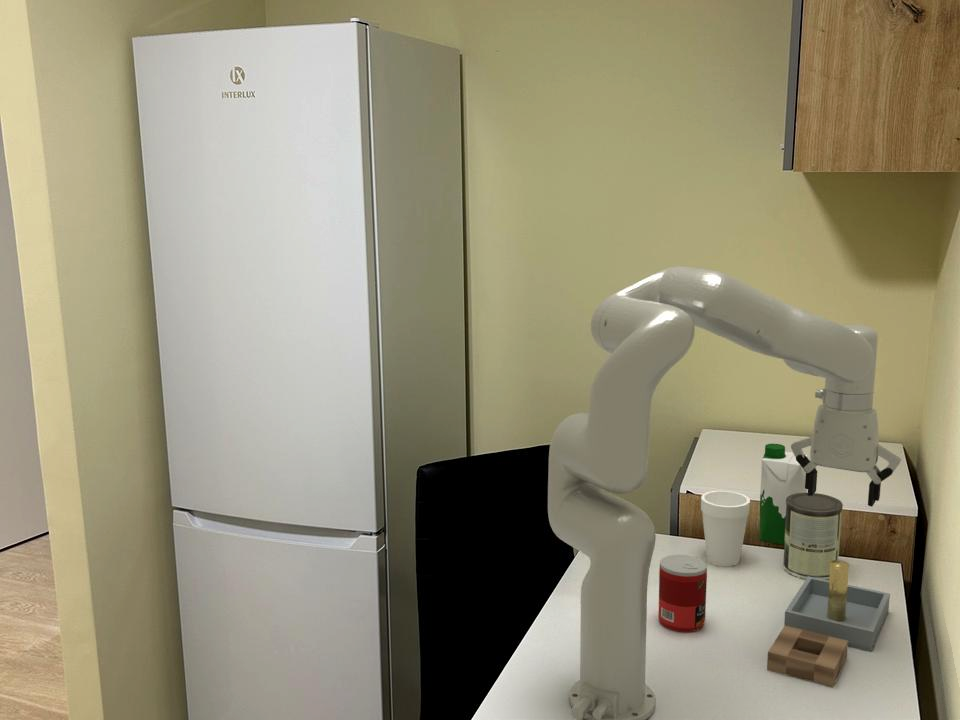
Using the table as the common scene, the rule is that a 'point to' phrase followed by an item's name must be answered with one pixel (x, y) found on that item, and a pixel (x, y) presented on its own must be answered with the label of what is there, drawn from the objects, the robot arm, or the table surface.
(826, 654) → the pin bracket
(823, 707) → the table surface
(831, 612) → the pin
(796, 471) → the milk carton
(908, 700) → the table surface
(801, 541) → the coffee can
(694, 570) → the canned food
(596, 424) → the robot arm
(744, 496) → the foam cup
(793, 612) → the pin tray
